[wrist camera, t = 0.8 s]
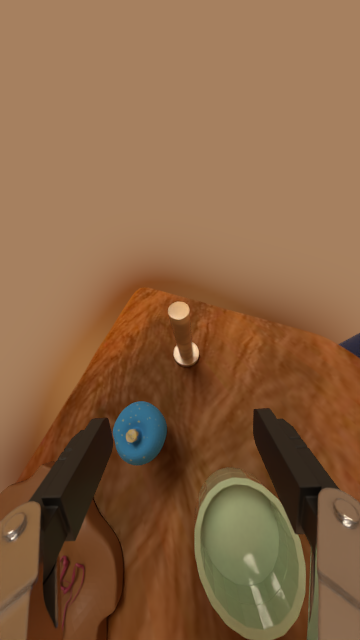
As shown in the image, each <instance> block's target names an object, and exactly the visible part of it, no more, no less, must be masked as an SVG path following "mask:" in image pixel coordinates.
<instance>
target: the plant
mask: <svg viewBox="0 0 360 640" xmlns="http://www.w3.org/2000/svg"><path fill="white" fill-rule="evenodd" d="M54 464H55V462H49V463H46V464H43V465H41V466H40V467H39V468H38V470H37V471H36V472H35V474H34V475H33V476H32V477H31V478H29V479H28V480H26V481H21V482H18V483H15V484H12V485H10V486H8V487H7V488H6V489H5V490H4V491H2V492H1V494H0V522H1V520H2V519H3V518H4V517H5V516H6V515H8V514H9V513H10V512H11V511H12V510H14V509H15V508H17V507H18V506H20V505H22V504H24V503H26V502H28V501H29V500H30V498H31V497H32V496H33V494H34V493H35V491H36V490H37V488H38V487H39V485H40V484H41V483H42V481H43V480H44V478H45V477H46V475H47V474H48V472H49V471H50V469H51V468H52V467H53V465H54ZM59 557H60V581H61V611H62V633H63V640H106V639H107V616H109V615H110V614H111V613H113V612H114V610H115V608H116V606H117V604H118V602H119V599H120V597H121V594H122V587H123V557H122V551H121V546H120V543H119V541H118V539H117V537H116V535H115V533H114V532H113V530H112V529H111V527H110V526H109V525H108V524H107V523H106V521H105V520H104V519H103V518H102V516H101V515H100V513H99V511H98V509H97V507H96V505H95V503H94V501H93V499H92V502H91V504H90V507H89V509H88V511H87V514H86V516H85V519H84V521H83V524H82V526H81V529H80V531H79V534H78V536H77V538H76V541H65V542H64V544H63V546H62V548H61V551H60V553H59Z"/></svg>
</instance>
